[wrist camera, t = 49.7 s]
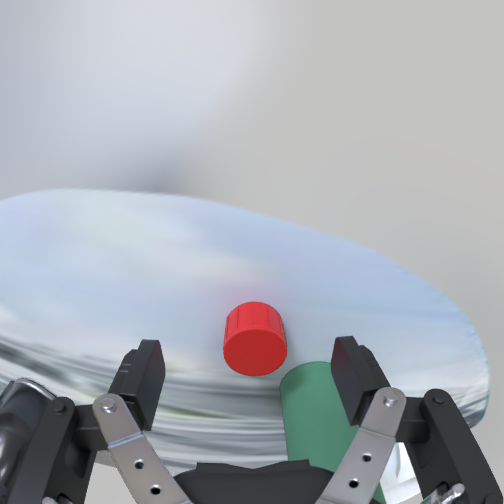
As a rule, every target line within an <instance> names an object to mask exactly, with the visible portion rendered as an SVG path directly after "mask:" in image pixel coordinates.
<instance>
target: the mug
mask: <svg viewBox="0 0 504 504" xmlns="http://www.w3.org/2000/svg"><path fill="white" fill-rule="evenodd" d="M380 484H381V487H382V490H383V494H384V497H385V500H386V503H387V504H397V503H400V502H402V501H404V500H406V499H409V498H411V497H412V496H414V495H416V494H418V493H419V492H421V491H420V488H419V485H418V482H417V479H416V476H415V473H414V470H413V468H412V465H411V462H410V459H409V457H408V454H407V451H406V448H405V446H404V443H395V445H394V447H393V450H392V453H391V455H390V458H389V460H388V463H387V465H386V468H385V470H384V472H383V475H382V477H381V479H380Z"/></svg>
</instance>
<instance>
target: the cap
mask: <svg viewBox="0 0 504 504" xmlns="http://www.w3.org/2000/svg"><path fill="white" fill-rule="evenodd" d="M286 347H287V344H286V339H285V334H284V328H283V325H282V321H281V318H280V315H279V313H278V312H277V311H276V310H275V309H274V308H272V307H271V306H269V305H267V304H264V303H260V302H249V303H245V304H242V305H240V306H238V307H237V308H235V309H234V310H233V311H232V312H231V313H230V315H229V316H228V318H227V322H226V328H225V337H224V346H223V350H224V352H223V353H224V359H225V361H226V363H227V364H228V365H229V367H230V368H232V369H233V370H234V371H236V372H238V373H240V374H243V375H247V376H262V375H266V374H269V373H271V372H273V371H275V370H276V369H278V368H279V367H280V366H281V365H282V364H283V362H284V361H285V358H286V355H287V348H286Z"/></svg>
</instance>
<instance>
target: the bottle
mask: <svg viewBox="0 0 504 504" xmlns="http://www.w3.org/2000/svg"><path fill="white" fill-rule="evenodd" d="M280 397H281V405H282V413H283V421H284V429H285V437H286V445H287V454H288V461H295V460H304V459H309V463H310V466H317V467H321V468H325V469H328V470H330V471H333V472H336V470H337V468H338V467H339V465H340V463H341V461H342V460H343V458H344V456H345V454H346V452H347V451H348V449H349V447H350V445H351V443H352V441H353V439H354V437H355V435H356V433H357V431H358V429H359V428H360V427H359V425H356V426H350V424H349V421H348V419H347V416H346V413H345V410H344V407H343V404H342V402H341V399H340V396H339V393H338V391H337V388H336V385H335V382H334V380H333V377H332V374H331V364H330V363H326V362H312V363H307V364H303V365H301V366H298V367H296V368H295V369H293V370H291V371H290V372H289V373H288V374H287V375H286V376H285V377H284V378H283V380H282V381H281V384H280ZM372 497H373V498H374V499H376V500H378V501H379V502H381V503H382V504H387V503H386V500H385V497H384V494H383V490H382V487H381V484H380V481H379V484H378V486H377V488H376V490H375V492H374V494H373V496H372Z"/></svg>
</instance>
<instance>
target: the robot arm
mask: <svg viewBox="0 0 504 504" xmlns="http://www.w3.org/2000/svg"><path fill="white" fill-rule="evenodd" d="M331 374H332V377H333V380H334V382H335V385H336V388H337V391H338V393H339V396H340V399H341V402H342V404H343V407H344V410H345V413H346V416H347V419H348V421H349V424H350V426H356V425H359V427H360V428H359V429H358V431H357V433H356V435H355V437H354V439H353V441H352V443H351V445H350V447H349V449H348V451H347V452H346V454H345V456H344V458H343V460H342V461H341V463H340V465H339V467H338V468H337V470H336V472H333V471H330V470H328V469H325V468H321V467H317V466H310V463H309V459H304V460H295V461H284V462H279V463H275V464H272V465H268V466H264V467H261V468H257V469H249V468H244V467H239V466H234V465H229V464H224V463H199V462H197V468H196V469H194V470H189V471H186V472H183V473H180V474H178V475H176V476H174V477H172V476H171V474H170V473H169V471H168V470H167V469H166V467H165V466H164V464H163V463H162V461H161V460H160V458H159V457H158V455H157V454H156V452H155V451H154V449H153V448H152V446H151V445H150V443H149V442H148V440H147V438H146V437H145V435H144V434H143V433H142V430H146V431H151V428H152V424H153V420H154V416H155V412H156V408H157V405H158V401H159V397H160V393H161V390H162V386H163V383H164V379H165V363H164V359H163V355H162V350H161V345H160V342H159V340H145V339H143V340H142V341H141V343H140V345H139V348H138V350H134V349H132V350H131V351H130V352H129V353H127V354H126V355H125V356H124V359H123V361H122V363H121V365H120V367H119V369H118V371H117V373H116V376H115V378H114V380H113V382H112V384H111V387H110V389H109V391H108V393H107V394H104V395H101V396H100V397H98V398H97V399H96V400H95V401H94V403H93V404H90V405H78V406H75V404H74V403H73V401H72V400H71V399H69V398H67V397H58V398H56V397H55V396H54V395H52V394H51V393H50V392H49V391H47V390H46V389H45V388H43V387H42V386H40V385H38V384H37V383H35V382H33V381H30V380H28V379H24V378H19V379H17V380H16V381H15V382H14V381H11V382H10V383H9V384H8V386H7V387H6V388H5V390H4V391H3V392H2V394H1V395H0V504H84V501H85V496H86V492H87V488H88V484H89V480H90V476H91V472H92V468H93V464H94V461H95V457H96V453H97V451H100V450H108V451H109V453H110V455H111V457H112V459H113V461H114V463H115V465H116V467H117V469H118V471H119V473H120V475H121V476H122V478H123V480H124V482H125V484H126V486H127V487H128V489H129V491H130V493H131V494H132V496H133V498H134V499H135V501H136V503H137V504H382V503H381V502H379V501H378V500H376V499H374V498H373V497H372V496H373V494H374V492H375V490H376V488H377V486H378V484H379V481H380V479H381V477H382V475H383V472H384V470H385V468H386V465H387V463H388V460H389V458H390V455H391V453H392V450H393V447H394V445H395V443H404V446H405V448H406V451H407V454H408V457H409V459H410V462H411V465H412V468H413V470H414V473H415V476H416V479H417V482H418V485H419V488H420V491H421V494H422V497H423V501H422V502H421V503H420V504H503V496H502V493H501V491H500V489H499V486H498V484H497V482H496V480H495V478H494V475H493V473H492V471H491V469H490V467H489V465H488V463H487V461H486V459H485V457H484V455H483V453H482V451H481V449H480V447H479V445H478V443H477V442H476V440H475V438H474V436H473V434H472V432H471V430H470V429H469V427H468V425H467V423H466V422H465V420H464V418H463V416H462V415H461V413H460V411H459V409H458V408H457V406H456V404H455V403H454V401H453V399H452V398H451V396H450V395H449V394H448V393H447V392H446V391H444V390H441V389H431V390H429V391H427V392H426V393H425V395H424V397H423V398H416V397H406V396H405V395H404V393H403V392H402V391H400V390H399V389H397V388H393V387H391V386H390V384H389V382H388V380H387V378H386V377H385V375H384V373H383V371H382V370H381V368H380V366H379V364H378V362H377V361H376V360H375V357H374V355H373V354H372V352H371V351H370V350H369V349H368V348H366V347H365V346H364V345H361V346H358V344H357V342H356V340H355V339H354V337H353V336H345V337H337V338H336V340H335V344H334V349H333V354H332V359H331Z"/></svg>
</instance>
